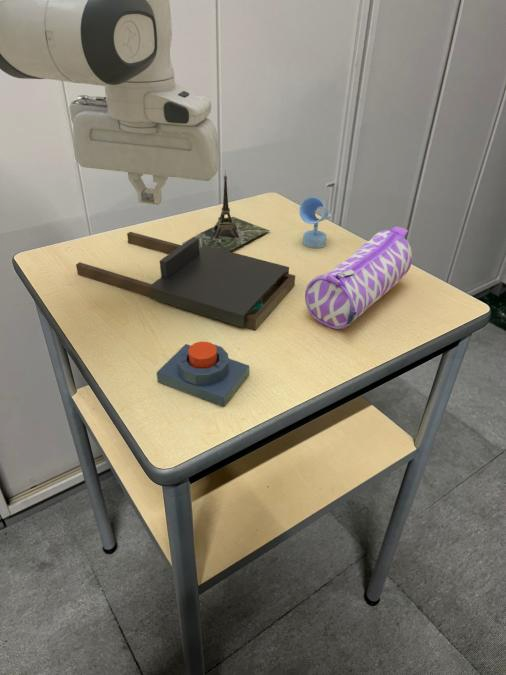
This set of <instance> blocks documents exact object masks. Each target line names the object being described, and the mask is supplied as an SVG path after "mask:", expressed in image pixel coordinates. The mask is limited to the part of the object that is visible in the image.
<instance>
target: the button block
mask: <svg viewBox="0 0 506 675" xmlns="http://www.w3.org/2000/svg"><path fill="white" fill-rule="evenodd" d="M191 345H192V344H189V343H185V344H184V345H182V347H181V348H180V349H179V350H178V351H177V352H176V353H175V354H174V355H173V356H171V358H170V359H169V360H168V361H166V362H165V363H164V365H162V367H160V369H158V370H157V371H156V378H157V380H156V381H157V383H159V384H162V385H165V386H167V387H170V388H173V389H175V390H178V391H181V392H183V393H186V394H188V395H191V396H194V397H197V398H199V399H201V400H204V401H207V402H209V403H212V404H215V405H217V406H219V407H222V408H224V407H225V406H226V405H227V404H228V402H229V401H230V400H231V399H232V397H233V396H234V395H235V394H236V393H237V391H238V390H239V389H240V387H241V386H242V385H243V384H244V382H245V381H246V380H247V378H249V376H250V365H249V364H246V363H243V362H240V361H237V360H234V359H231V358H229V353H228V352H227V351H226V350H225V349H224V348H223V347H222V346H221V345H217V344H214V345H215V346H216V348H217V362H216V364H215V365H214V366H212V367H210V368H206V369H198V368H195V367H192V366H191V365H190V363H189V351H188V350H189V348H190V346H191Z"/></svg>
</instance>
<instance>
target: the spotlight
mask: <svg viewBox="0 0 506 675" xmlns="http://www.w3.org/2000/svg"><path fill="white" fill-rule="evenodd" d="M321 207H322V208H323V210H322V215H321V216H320V218H318V217H317V215H316V211H317V209H318V208H321ZM298 212H299V216H300V219H301V220H302V222H304V223H305V224H308V225H313V229H310V230H306V231H304V232H303V236H302V244H303V245H304V246H305V247H308V248H310V249H311V248H312V249H320V248H323V247H325V246H326V243H327V234H326V233H325V232H324V231H321V230H318V228H319V223H320V222H323V221H325V220H327V218H328V217H329V214H330V212H329V208H328V207H327V206H326V204H325V203H324V202H323V200H322V199H321V198H319V197H317V196H308V197H306V198H304V199H303V201H302V202H301V203H300V205H299V210H298Z"/></svg>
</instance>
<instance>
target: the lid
mask: <svg viewBox="0 0 506 675" xmlns="http://www.w3.org/2000/svg"><path fill="white" fill-rule="evenodd" d="M189 239H190V240H189ZM189 239H187V240H188V241H187V240H186V241H187V242H185V241H184V242H185V243H184V242H183V243H184V244H183V243H182V244H180V245H181V246H180V247H178V248H177V249H176V250H174V251H173V252H171V253H170V254H167V255H166V256H164V257H162V259H160V260H159V270H160V277H159V278H158V279H157V280H155V281H154V282H153V283H151V284H152V285H150V286H149V292H150V297H149V299H151V300H155V301H158V302H161V303H164V304H168V305H171V306H174V307H177V308H179V309H184V310H187V311H190V312H193V313H196V314H199V315H202V316H205V317H208V318H211V319H215V320H218V321H222V322H223V323H224V322H225V323H226V324H227V323H228V324H231V325H234V326H237V327H239V328H245V327H244V326H245V316H246V315H247V314H250V313H251V312H252V311H251V310H252V309H253V308H254V307H255V306H256V305H257V304H258V303H259V302H260V300H263V298H264V297H265V296H266V295H268V293H269V292H270V291H271V290H272V289H273V288H274V287H275V286H276V285H277V284H276V283H277V282H278V281H279V280H280V279H281V278H282V277H283V276H284V275H285V274H286V273H288V274H290V266H286V265H283V264H278V263H276V262H272V261H267V260H263V259H259V258H257V257H253V256H248V255H245V254H242V253H237V252H233V251H225V250H222V249H218V248H214V247H210V246H206V245H203V246H202V247H200V248H199V238H195V237H194V236H192V237H191V238H189Z"/></svg>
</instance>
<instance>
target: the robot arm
mask: <svg viewBox="0 0 506 675" xmlns="http://www.w3.org/2000/svg"><path fill="white" fill-rule="evenodd" d="M172 26H173V24H172V13H171V2H170V0H0V70H1V72H4V73H5V74H7V75H8V76H11V77H13V78H15V79H16V78H17V79H23V80H52V81H58V82H67V83H74V84H85V85H93V86H101V87H104V93H105V96H89V95H86V94H81V95H78V96H77V97H75V98H74V99H72V101H71V102H70V104H69V114H70V120H71V123H72V139H73V140H72V141H73V142H72V144H73V153H74V159H75V161H76V162H77V164H78V165H79V166H80V167H82V168H87V169H96V170H104V171H105V170H106V171H113V172H114V171H115V172H121V173H122V172H123V173H127V176H128V181H129V182H130V184H131V185H132V187H133V188H134V189H135V191H136V192H137V199H138V203H140V204H148V205H156V206H159V205H160V204H161V203H162V201H163V198H162V197H163V196H162V191H163V189H164V187H165V185H166V182H167V181H168V179H169V178H176V179H185V180H195V181H201V182H202V181H203V182H204V181H205V182H209V181H211V180H212V179H213V178H214V177H215V176H216V175H217V173H218V172H219V170H220V160H221V159H220V148H219V139H218V133H217V129H216V127H215V124H214V122H213V121H212V120H211V119H210V118H208V116H209V115H210V114H211V111H212V101H211V100H210V99H209V97H206V96H204V95H202V94H200V93H197V92H195V91H193V90H191V89H188V88H186V87H184V86H182V85H180V84H178V83H176V82H175V71H174V67H173V64H172V61H171V46H172V40H173V29H172ZM144 175H150V176H152V181H153V183H156V185H155V187H154V188H151V187H147V185H146V184H145V182H144V180H143V179H142V176H144Z"/></svg>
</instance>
